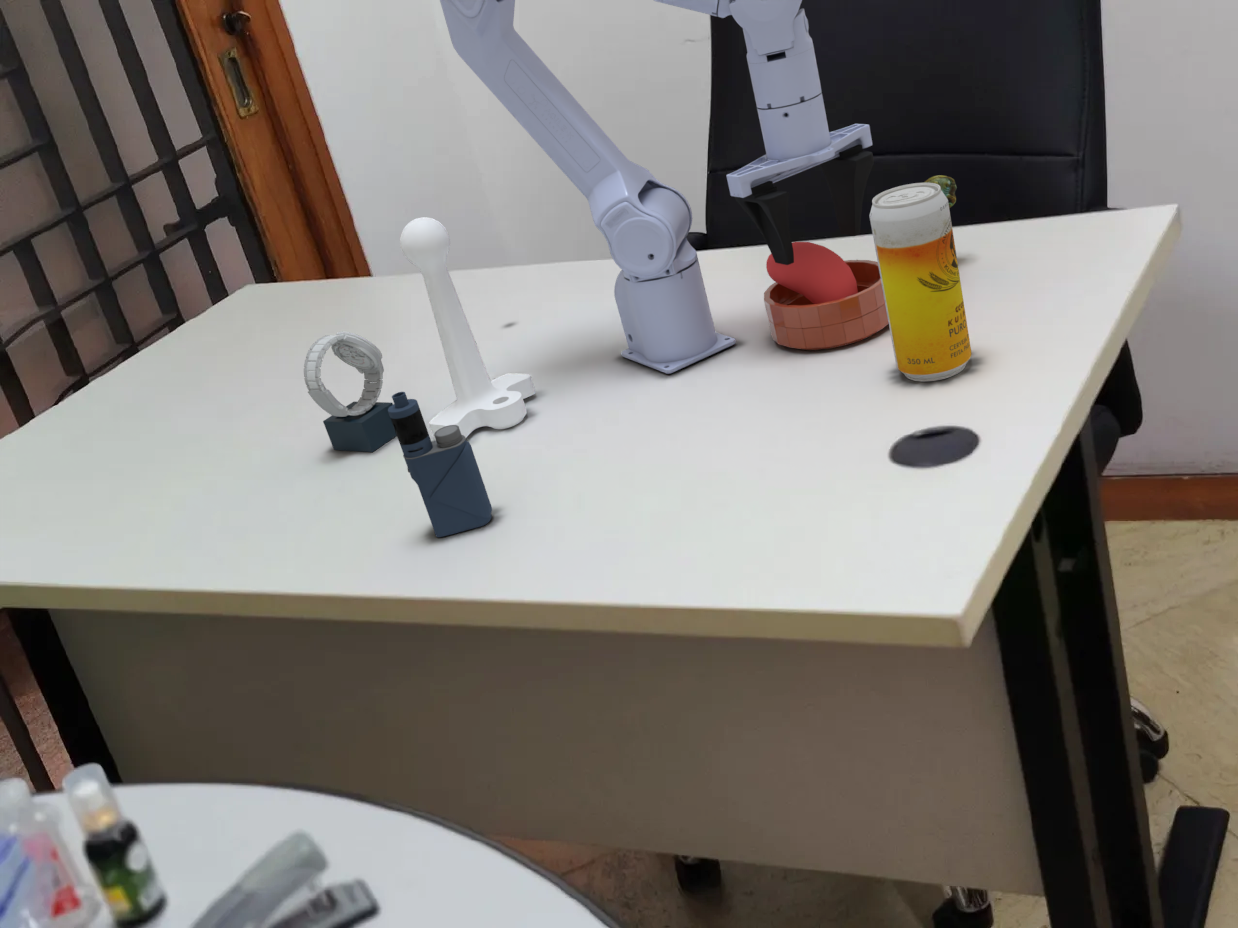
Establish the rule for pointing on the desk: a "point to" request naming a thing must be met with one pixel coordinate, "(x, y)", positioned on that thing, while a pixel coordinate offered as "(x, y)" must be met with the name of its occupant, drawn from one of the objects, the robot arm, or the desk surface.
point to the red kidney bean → (814, 273)
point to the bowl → (828, 313)
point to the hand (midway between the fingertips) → (817, 248)
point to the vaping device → (441, 470)
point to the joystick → (461, 342)
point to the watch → (359, 420)
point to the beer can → (920, 281)
